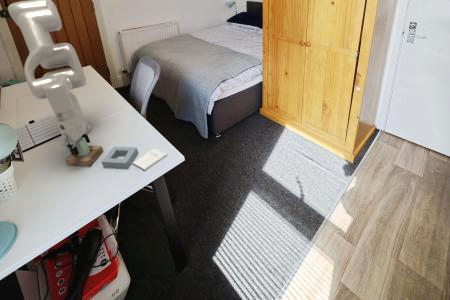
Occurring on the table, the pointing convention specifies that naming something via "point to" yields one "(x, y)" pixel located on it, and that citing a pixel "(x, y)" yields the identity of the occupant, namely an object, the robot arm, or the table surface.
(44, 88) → the robot arm
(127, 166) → the socket
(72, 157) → the socket
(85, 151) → the plug
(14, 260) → the table surface
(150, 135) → the table surface
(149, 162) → the external hard drive
